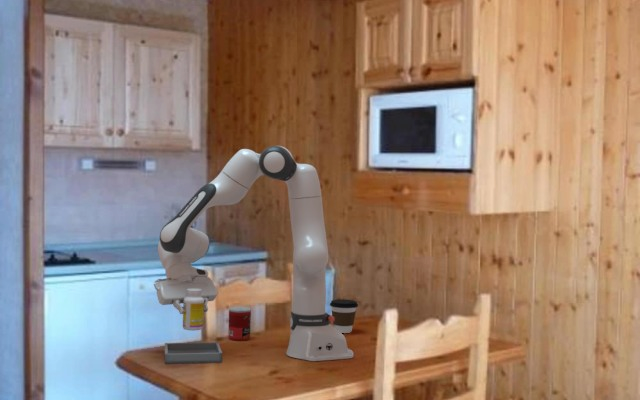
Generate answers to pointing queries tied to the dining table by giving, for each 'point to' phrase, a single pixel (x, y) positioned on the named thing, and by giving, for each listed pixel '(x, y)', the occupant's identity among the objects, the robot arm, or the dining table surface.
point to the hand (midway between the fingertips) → (194, 311)
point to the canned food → (239, 323)
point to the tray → (192, 353)
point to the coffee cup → (343, 314)
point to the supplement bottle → (193, 310)
